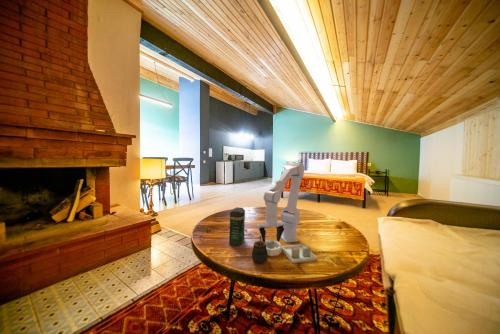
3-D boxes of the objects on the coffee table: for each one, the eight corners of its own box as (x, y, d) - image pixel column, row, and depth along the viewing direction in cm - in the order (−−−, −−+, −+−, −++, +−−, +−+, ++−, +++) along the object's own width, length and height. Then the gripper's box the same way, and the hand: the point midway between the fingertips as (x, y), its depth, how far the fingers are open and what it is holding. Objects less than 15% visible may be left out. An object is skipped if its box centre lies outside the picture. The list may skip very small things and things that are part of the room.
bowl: (258, 246, 97) (258, 241, 97) (276, 244, 100) (276, 239, 100) (264, 256, 88) (264, 250, 88) (284, 254, 90) (284, 248, 90)
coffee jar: (241, 246, 97) (242, 211, 96) (227, 245, 99) (227, 210, 98) (246, 238, 107) (246, 206, 106) (232, 237, 108) (233, 205, 107)
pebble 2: (300, 254, 89) (301, 246, 89) (307, 253, 90) (307, 245, 90) (304, 258, 86) (305, 249, 86) (311, 257, 87) (312, 249, 86)
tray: (280, 249, 95) (281, 246, 95) (302, 247, 98) (302, 244, 98) (292, 263, 82) (292, 260, 82) (316, 260, 85) (316, 256, 85)
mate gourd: (252, 265, 80) (252, 242, 80) (250, 256, 88) (251, 235, 88) (269, 264, 81) (269, 242, 81) (265, 255, 89) (266, 235, 88)
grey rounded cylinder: (266, 247, 95) (266, 240, 95) (272, 247, 96) (272, 239, 96) (268, 251, 91) (268, 243, 91) (275, 250, 92) (275, 242, 92)
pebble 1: (290, 255, 88) (290, 247, 88) (297, 254, 89) (297, 246, 89) (293, 259, 84) (293, 251, 84) (300, 258, 85) (301, 250, 85)
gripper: (259, 218, 87) (259, 246, 88) (288, 216, 91) (287, 243, 91) (255, 213, 94) (255, 240, 95) (282, 212, 98) (281, 237, 98)
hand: (270, 241), depth 94 cm, fingers open, 7 cm apart
